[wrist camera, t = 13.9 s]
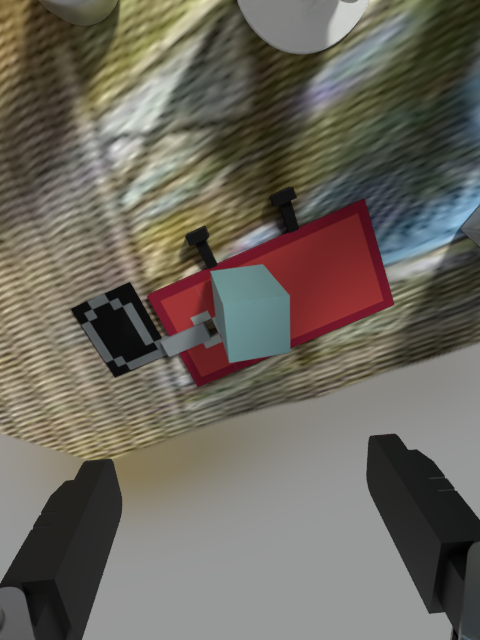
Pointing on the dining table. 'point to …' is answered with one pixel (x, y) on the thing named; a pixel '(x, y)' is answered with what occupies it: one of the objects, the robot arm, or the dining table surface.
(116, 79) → the dining table surface
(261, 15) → the white round-based fixture
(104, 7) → the plastic bottle
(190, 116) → the dining table surface
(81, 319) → the red board with handle
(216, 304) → the teal block
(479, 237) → the coffee box
